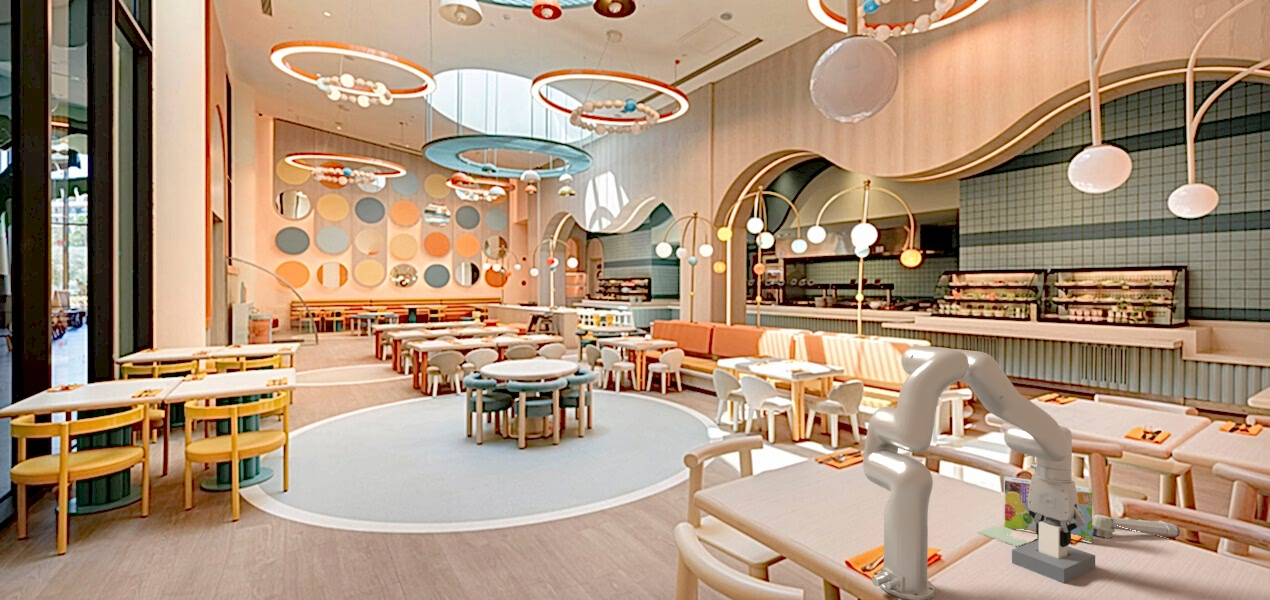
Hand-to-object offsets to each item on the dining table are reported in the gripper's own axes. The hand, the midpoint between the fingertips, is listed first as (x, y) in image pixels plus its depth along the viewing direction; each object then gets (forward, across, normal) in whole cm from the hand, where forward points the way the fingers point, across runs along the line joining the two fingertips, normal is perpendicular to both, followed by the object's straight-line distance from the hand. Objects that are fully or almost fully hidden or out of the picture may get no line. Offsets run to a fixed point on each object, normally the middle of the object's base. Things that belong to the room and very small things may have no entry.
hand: (1053, 541), depth 146 cm
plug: (+4, 0, 0) cm, 4 cm away
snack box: (+7, -12, +22) cm, 26 cm away
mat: (+7, -16, +9) cm, 20 cm away
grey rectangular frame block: (+7, 0, 0) cm, 7 cm away
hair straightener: (+7, +1, +44) cm, 44 cm away
